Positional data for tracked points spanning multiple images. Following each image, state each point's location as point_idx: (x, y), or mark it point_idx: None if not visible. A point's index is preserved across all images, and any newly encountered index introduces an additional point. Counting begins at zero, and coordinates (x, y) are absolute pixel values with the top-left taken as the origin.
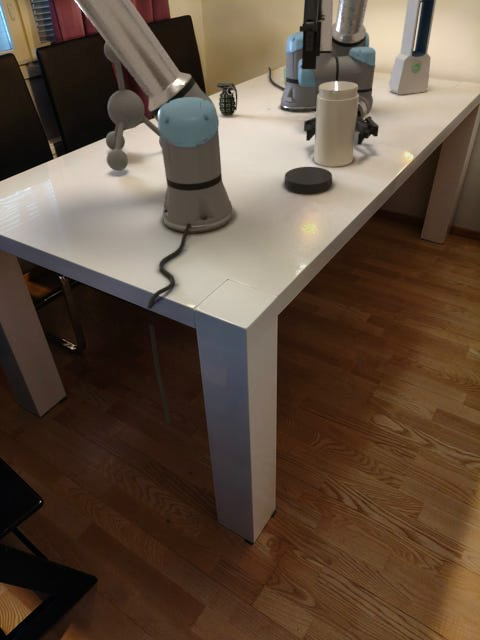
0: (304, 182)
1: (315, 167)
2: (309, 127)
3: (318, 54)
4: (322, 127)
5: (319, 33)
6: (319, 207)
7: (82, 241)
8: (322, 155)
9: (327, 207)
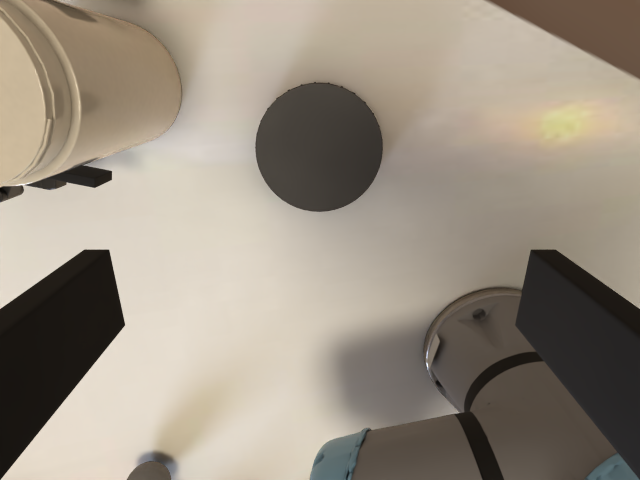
0: (369, 157)
1: (261, 135)
2: (64, 180)
3: (104, 261)
4: (126, 135)
5: (7, 343)
6: (454, 108)
7: None
8: (165, 120)
9: (455, 87)
